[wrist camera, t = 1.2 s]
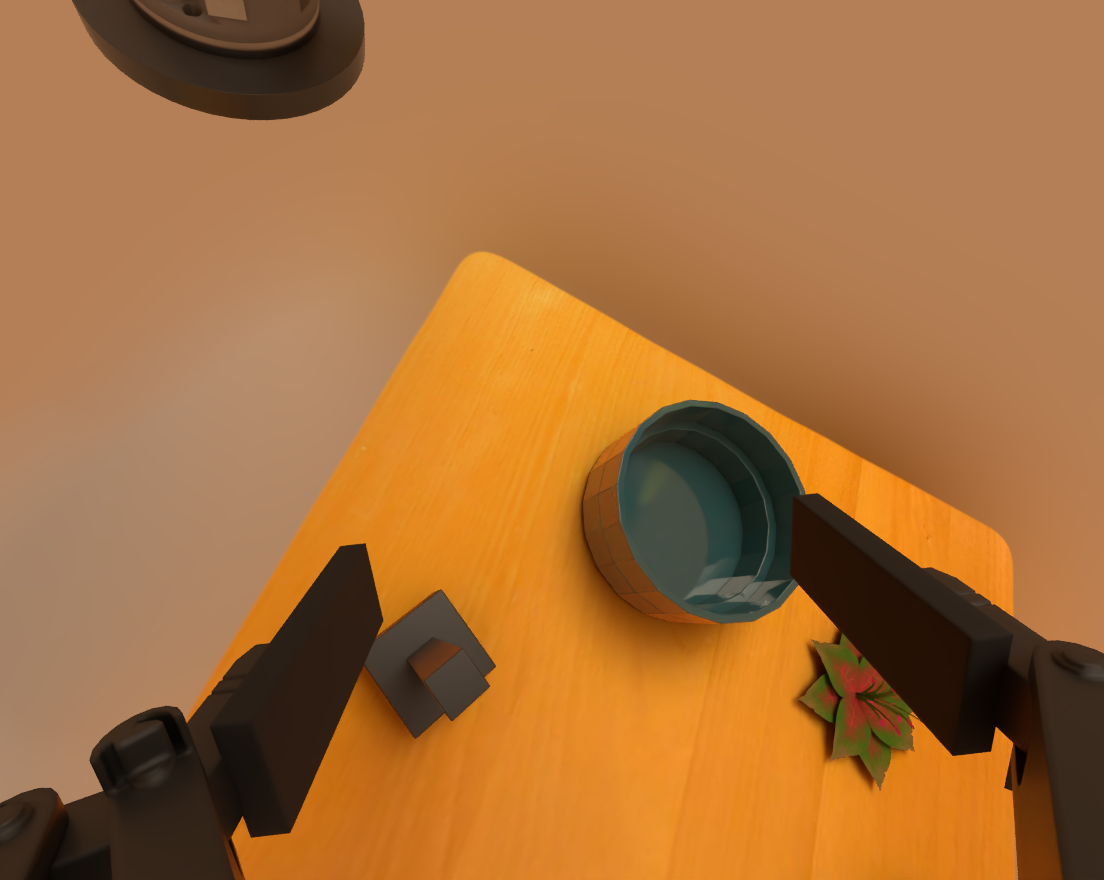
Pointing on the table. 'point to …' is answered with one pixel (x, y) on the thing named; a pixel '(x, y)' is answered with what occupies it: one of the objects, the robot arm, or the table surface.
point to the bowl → (694, 516)
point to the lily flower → (859, 708)
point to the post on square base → (429, 664)
